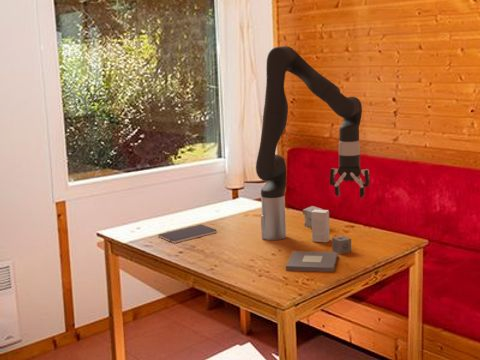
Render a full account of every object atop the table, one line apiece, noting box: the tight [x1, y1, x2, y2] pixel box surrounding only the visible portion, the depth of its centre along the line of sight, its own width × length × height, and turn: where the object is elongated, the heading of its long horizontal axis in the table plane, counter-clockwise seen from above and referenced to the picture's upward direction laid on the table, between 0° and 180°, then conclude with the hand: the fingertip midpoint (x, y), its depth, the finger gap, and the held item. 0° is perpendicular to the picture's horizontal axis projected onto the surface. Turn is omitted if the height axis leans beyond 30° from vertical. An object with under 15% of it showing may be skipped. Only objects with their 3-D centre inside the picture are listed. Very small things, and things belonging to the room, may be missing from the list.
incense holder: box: [302, 205, 324, 228], centre depth 254 cm, size 8×6×8 cm
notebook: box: [157, 224, 217, 244], centre depth 253 cm, size 13×2×21 cm
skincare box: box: [311, 209, 331, 243], centre depth 234 cm, size 6×4×12 cm
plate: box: [285, 250, 339, 273], centre depth 210 cm, size 16×16×2 cm
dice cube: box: [331, 235, 352, 255], centre depth 221 cm, size 5×5×5 cm
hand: (349, 196), depth 220 cm, fingers open, 8 cm apart
